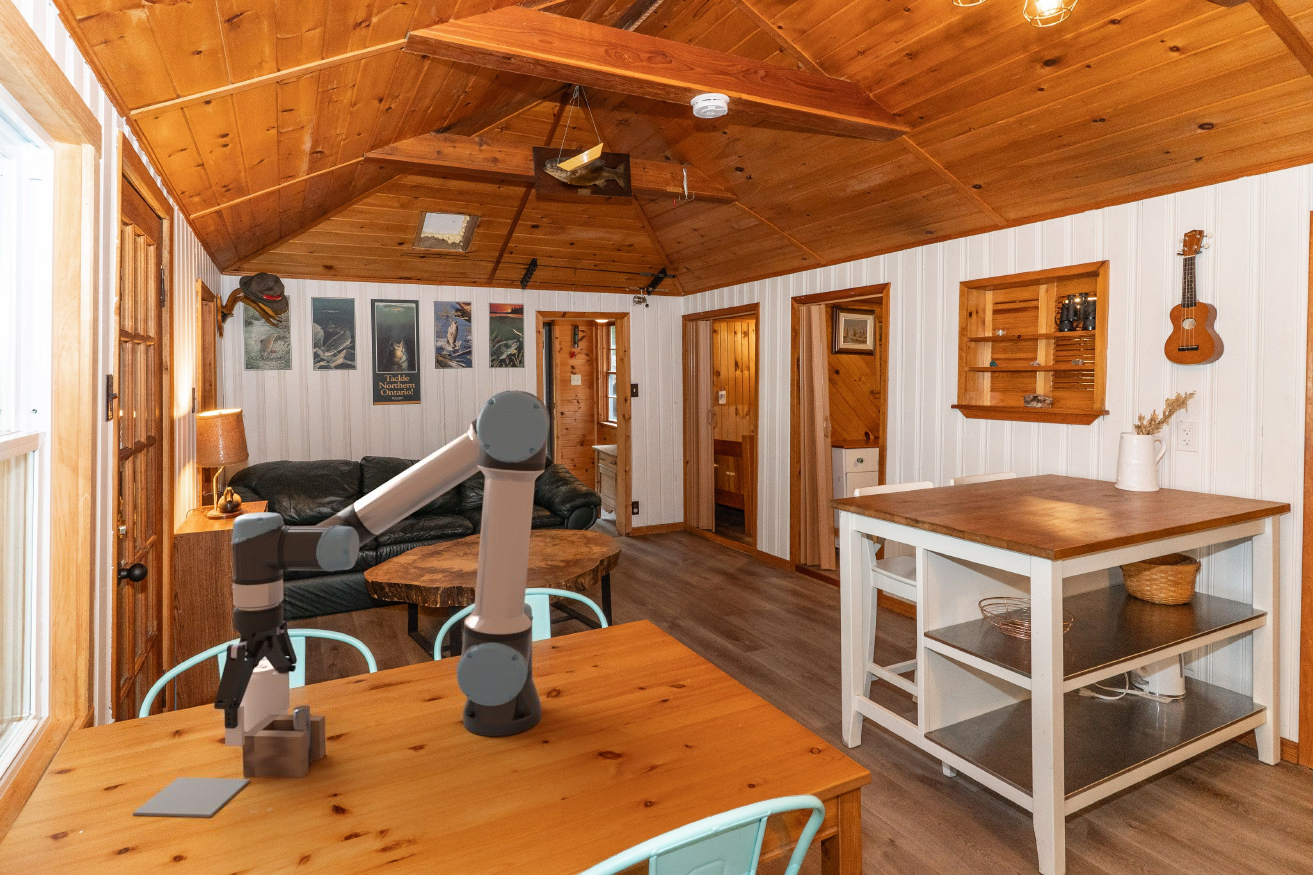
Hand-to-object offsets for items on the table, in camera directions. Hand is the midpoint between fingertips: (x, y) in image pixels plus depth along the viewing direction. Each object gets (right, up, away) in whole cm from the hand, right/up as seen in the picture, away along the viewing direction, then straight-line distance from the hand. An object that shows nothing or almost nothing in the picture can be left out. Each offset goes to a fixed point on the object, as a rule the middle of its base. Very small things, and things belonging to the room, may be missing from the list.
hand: (259, 725), depth 124 cm
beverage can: (-7, -6, +15) cm, 17 cm away
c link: (+4, -7, 0) cm, 8 cm away
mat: (-5, -7, -10) cm, 13 cm away
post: (+7, -7, 0) cm, 10 cm away
